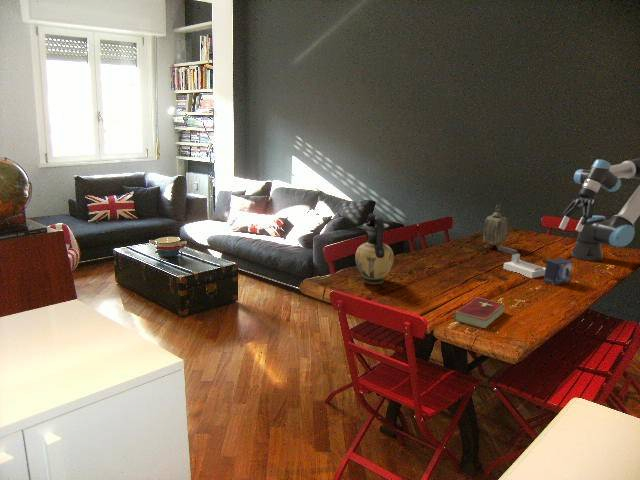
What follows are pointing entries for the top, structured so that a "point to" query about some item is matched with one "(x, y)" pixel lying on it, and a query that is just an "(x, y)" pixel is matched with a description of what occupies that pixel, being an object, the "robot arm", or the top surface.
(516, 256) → the dark gray bar
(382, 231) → the amphora
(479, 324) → the hardcover book
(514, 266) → the board
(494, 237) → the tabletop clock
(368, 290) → the top surface
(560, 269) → the small box
